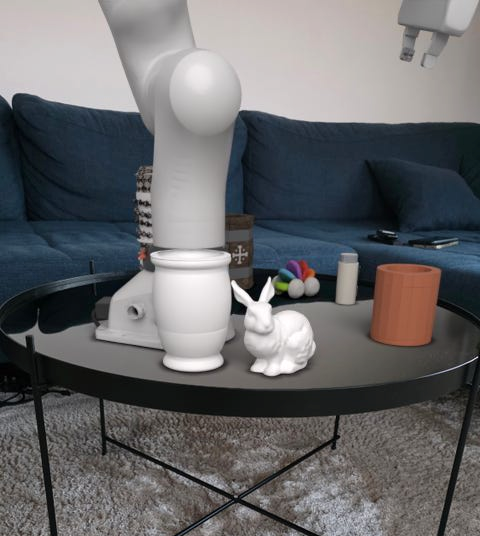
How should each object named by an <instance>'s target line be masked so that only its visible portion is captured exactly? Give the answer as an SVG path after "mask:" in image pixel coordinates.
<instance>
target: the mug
mask: <svg viewBox="0 0 480 536" xmlns="http://www.w3.org/2000/svg"><path fill="white" fill-rule="evenodd" d="M254 224H255V215H253V214H246V213H226V212H225V244H226V245H227V246H228V253H229V254H231V262H230V263H229V278H230V285H231V282H232V280H234V281H235V282H236V284H237V285H238V286H239V287H240V288H241V289H243V290H244V291H245V290H250V289H251V288H252V287H253V286H254V285H255V284H254V273H253V272H254V268H253V267H254V266H253V265H254V256H255V255H254V253H255V247H254V246H255V245H254ZM231 292H234V289H233V287H232V285H231Z"/></svg>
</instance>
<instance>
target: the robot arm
mask: <svg viewBox="0 0 480 536" xmlns="http://www.w3.org/2000/svg"><path fill="white" fill-rule="evenodd" d="M97 2H98V4H99V6H100V9H101V11H102V14H103V15H104V18H105V20H106V22H107V25H108V27H109V30H110V33H111V36H112V38H113V41H114V44H115V47H116V50H117V54H118V57H119V60H120V62H121V66H122V69H123V71H124V74H125V77H126V80H127V82H128V86H129V88H130V90H131V94H132V96H133V99H134V101H135V104H136V106H137V107H136V108H137V109H138V112H139V115H140V118H141V120H142V123H143V124H144V126H145V128H146V129H147V131H148V132H149V133H150V134H151V135H152V136H153V137H154V143H153V159H152V161H153V162H152V166H153V173H152V183H151V187H150V195H151V216H152V236H153V244H151V245H150V246H149V247H147V248H145V249H144V250H142V251H139V252H137V254H138V255H139V256H138V258H137V260H139V261H140V260H141V259H143V268H144V269H143V270H142V271H141V270H140V271H139V272H138V273H137V274H136V275H135V276H133V277H132V278H130V280H129V281H127V282H126V283H125V284H124V285H123V286H121V287H120V288H119V289H118V290H117V291H116V292H114V294H113V295H112V296H103V297H101V298H100V299H99V300H98V301H97V302H95V303H94V306H95V307H94V308H93V310H92V311H91V313H90V314H91V315H90V317H91V320H92V323H93V324H94V325H95V332H94V335H95V336H94V337H95V339H97V340H100V341H107V342H114V343H118V344H119V343H120V344H125V345H126V344H127V345H132V346H140V347H145V348H152V349H157V350H164V348H163V346H162V344H161V341H160V339H159V335H158V330H157V324H156V320H155V316H154V311H153V303H152V284H153V276H154V271H155V265H154V264H153V263H152V262H151V259H150V258H151V256H150V254H151V253H153V252H157V251H164V250H173V249H208V250H217V251H223V252H227V253H228V246H227V245H226V244H225V213H226V190H227V180H228V173H229V166H230V160H231V155H232V147H233V140H234V133H235V125H236V121H237V117H238V115H239V112H240V110H241V105H242V98H243V97H242V96H243V94H242V86H241V85H242V84H241V81H240V78H239V76H238V73H237V71H236V70H235V68H234V66H233V65H232V64H231V62H230V61H229V60H227V58H225V57H224V56H223V55H221V54H219V53H217V52H215V51H213V50H210V49H206V48H201V47H197V43H196V41H195V36H194V32H193V27H192V22H191V18H190V12H189V7H188V0H97ZM479 3H480V0H402V1H401V5H400V7H399V10H398V13H397V25H399V26H402V27H405V28H404V30H403V32H402V33H403V34H402V44H401V50H400V53H399V60H400V61H403V62H408V63H411V62H412V61H413V58H414V54H415V53H416V50H414V49H415V45H416V41H417V39H418V38H419V35H420V31H423V32H429V33H431V34H432V35H431V37H430V41H431V42H430V44H429V46H428V48H427V49H426V52H424V53H423V54H422V59H421V61H420V66H421V67H423V68H426V69H429V70H433V69H434V68H435V66H436V63H437V61H438V58H439V56H440V55H441V53H442V52H443V50H444V49H445V47H446V46H447V44H448V41H449V39H450V37H456V38H461V37H462V36H463V35H464V34H465V33H466V31H467V30H468V28H469V26H470V25H471V22H472V21H473V18H474V15H475V12H476V10H477V9H478V5H479ZM227 270H228V274H229V264H228V265H227ZM98 319H102V320H103V319H104V320H105V319H106V321H104V322H102V323H100V322H99V321H98ZM235 336H236V330H235V328H234V323H233V319H232V314H230V318H229V322H228V331H227V336H226V340H225V342H227V341H230V340H231V339H233V338H234V337H235Z"/></svg>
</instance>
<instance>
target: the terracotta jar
mask: <svg viewBox="0 0 480 536" xmlns="http://www.w3.org/2000/svg"><path fill="white" fill-rule="evenodd" d="M441 276H442V269H441V268H438V267H437V266H436V267H435V266H429V265H424V264H415V263H385V264H380V265H378V266H377V267H376V273H375V281H374V282H375V283H374V293H373V302H372V303H373V304H372V313H371V322H370V334H369V337H370V338H371V339H372V340H374V342H375V341H376V342H378V343H381V344H385V345H391V346H398V347H418V346H425V345H427V344H430V343H431V342H432V337H433V332H434V325H435V318H436V312H437V311H436V310H437V304H438V298H439V297H438V296H439V292H440V291H439V290H440V285H441V284H440V283H441Z"/></svg>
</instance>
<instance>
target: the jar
mask: <svg viewBox="0 0 480 536" xmlns="http://www.w3.org/2000/svg"><path fill="white" fill-rule="evenodd" d="M150 256H151V258H150V259H151V262H152V263H153V264H154V265H155V271H154V276H153V284H152V303H153V311H154V316H155V320H156V324H157V330H158V335H159V339H160V341H161V344H162V346H163V348H164V349H163V350H164V351H165V355H164V357H163V359H162V363H163V365H164V366H165V367H166V368H168V369H171V370H174V371H176V372H177V371H179V372H183V373H184V372H185V373H200V372H208V371H212V370H213V371H214V370H216V369H218V368H220V367H222V366H223V364H224V362H225V361H224V357H223V356H222V354H221V351H222V350H223V348H224V345H225V343H226V341H225V340H226V336H227V331H228V322H229V318H230V315H231V311H232V291H231V285H230V278H229V274H228V270H227V265H228V264H229V263H230V262H231V254H229V253H227V252H223V251H217V250H208V249H173V250H164V251H157V252H153V253H151V254H150Z"/></svg>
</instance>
